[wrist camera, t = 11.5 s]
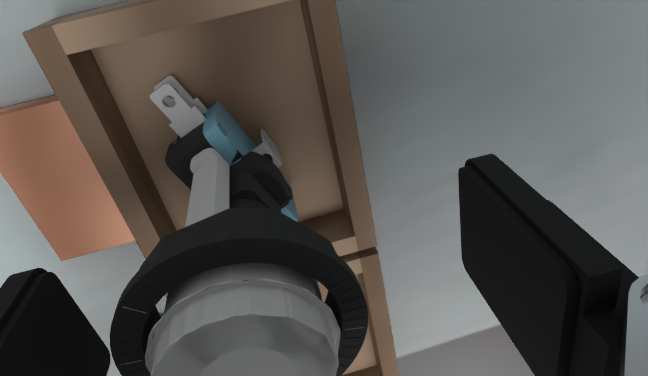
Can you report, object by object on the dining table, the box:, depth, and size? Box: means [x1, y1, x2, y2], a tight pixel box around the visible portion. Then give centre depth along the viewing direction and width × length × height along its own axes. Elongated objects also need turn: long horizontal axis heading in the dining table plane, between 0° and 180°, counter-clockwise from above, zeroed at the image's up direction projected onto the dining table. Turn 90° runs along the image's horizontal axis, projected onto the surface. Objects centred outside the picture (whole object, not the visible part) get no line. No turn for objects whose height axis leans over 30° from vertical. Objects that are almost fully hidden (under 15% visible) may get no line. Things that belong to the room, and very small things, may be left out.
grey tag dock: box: [160, 247, 399, 376], centre depth 21 cm, size 12×11×3 cm
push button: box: [110, 75, 368, 376], centre depth 12 cm, size 7×5×10 cm
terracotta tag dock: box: [0, 0, 377, 297], centre depth 16 cm, size 12×11×3 cm
